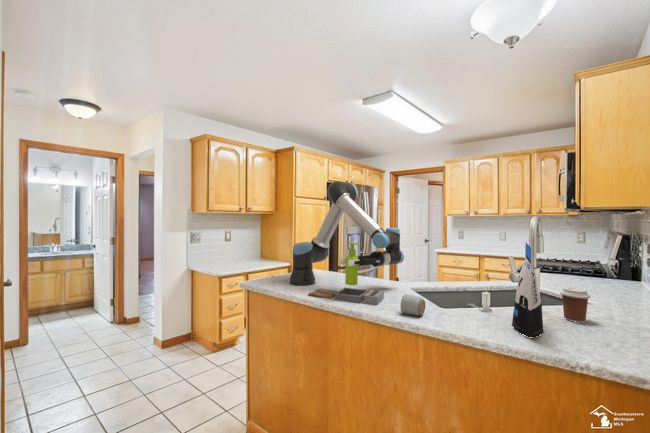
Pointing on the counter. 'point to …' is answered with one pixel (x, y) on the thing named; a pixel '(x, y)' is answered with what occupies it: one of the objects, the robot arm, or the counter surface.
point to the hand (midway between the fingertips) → (344, 262)
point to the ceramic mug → (412, 305)
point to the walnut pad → (323, 293)
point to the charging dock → (360, 296)
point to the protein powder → (527, 301)
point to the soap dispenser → (351, 267)
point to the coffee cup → (575, 303)
